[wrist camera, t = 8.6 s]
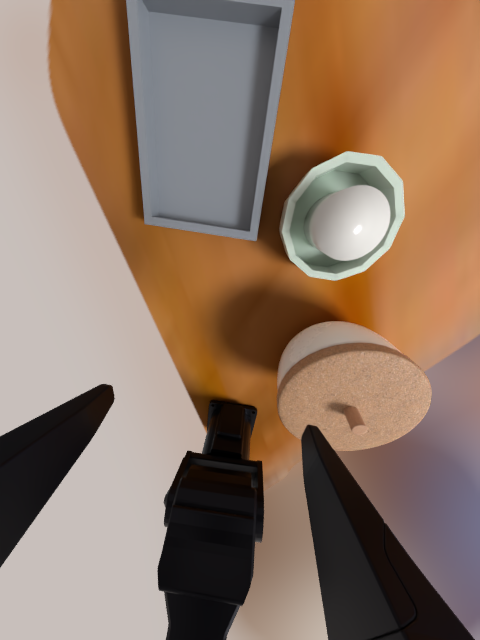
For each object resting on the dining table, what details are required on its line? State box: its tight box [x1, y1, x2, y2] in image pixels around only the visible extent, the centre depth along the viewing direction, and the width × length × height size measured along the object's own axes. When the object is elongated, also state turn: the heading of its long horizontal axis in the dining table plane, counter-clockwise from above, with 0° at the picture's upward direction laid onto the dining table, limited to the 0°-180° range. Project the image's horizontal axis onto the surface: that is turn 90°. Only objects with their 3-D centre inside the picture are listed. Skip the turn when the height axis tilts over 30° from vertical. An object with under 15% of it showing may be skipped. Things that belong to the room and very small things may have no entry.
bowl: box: [279, 151, 405, 281], centre depth 15 cm, size 8×8×3 cm
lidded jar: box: [277, 321, 432, 451], centre depth 18 cm, size 11×11×9 cm
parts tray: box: [126, 0, 295, 241], centre depth 14 cm, size 12×9×2 cm
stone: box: [304, 185, 390, 261], centre depth 14 cm, size 4×4×4 cm
